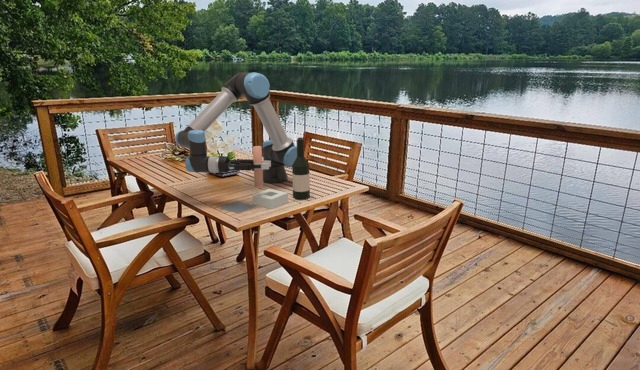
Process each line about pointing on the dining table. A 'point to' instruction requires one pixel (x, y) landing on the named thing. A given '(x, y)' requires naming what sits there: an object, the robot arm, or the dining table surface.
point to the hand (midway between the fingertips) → (269, 165)
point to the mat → (237, 207)
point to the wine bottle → (301, 174)
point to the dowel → (258, 159)
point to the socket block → (270, 198)
